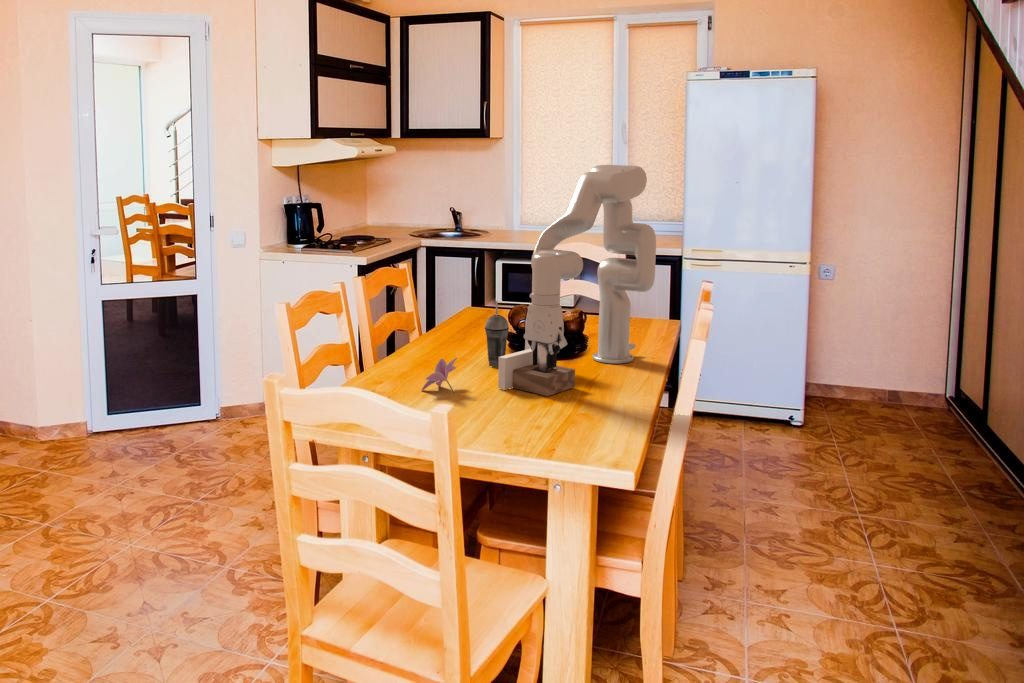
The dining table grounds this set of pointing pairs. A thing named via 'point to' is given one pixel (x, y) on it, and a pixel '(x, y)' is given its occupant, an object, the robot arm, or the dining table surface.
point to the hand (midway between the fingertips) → (544, 365)
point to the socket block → (543, 380)
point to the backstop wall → (512, 366)
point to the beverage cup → (496, 337)
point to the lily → (440, 373)
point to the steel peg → (542, 357)
